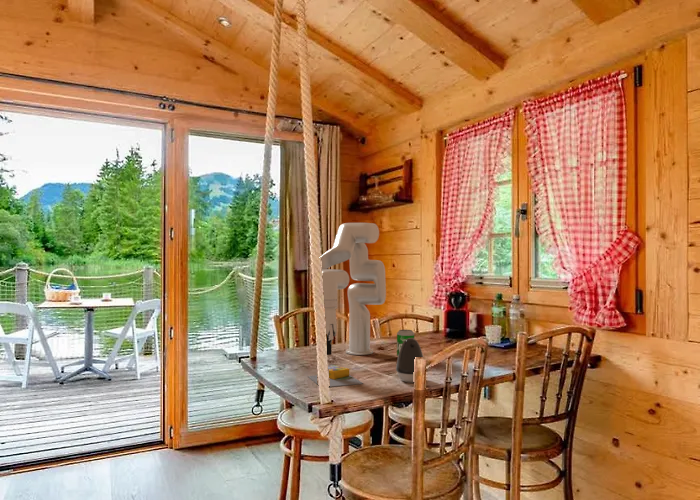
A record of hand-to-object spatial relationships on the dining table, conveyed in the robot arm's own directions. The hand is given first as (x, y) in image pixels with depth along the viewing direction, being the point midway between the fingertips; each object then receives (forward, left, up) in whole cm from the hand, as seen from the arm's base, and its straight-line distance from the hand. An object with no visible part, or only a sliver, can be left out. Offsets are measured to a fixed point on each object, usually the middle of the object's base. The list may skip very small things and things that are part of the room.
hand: (326, 354), depth 181 cm
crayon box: (-4, +1, -6) cm, 7 cm away
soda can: (-19, +43, -8) cm, 48 cm away
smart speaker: (+16, +26, -8) cm, 32 cm away
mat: (+6, +1, -8) cm, 10 cm away
